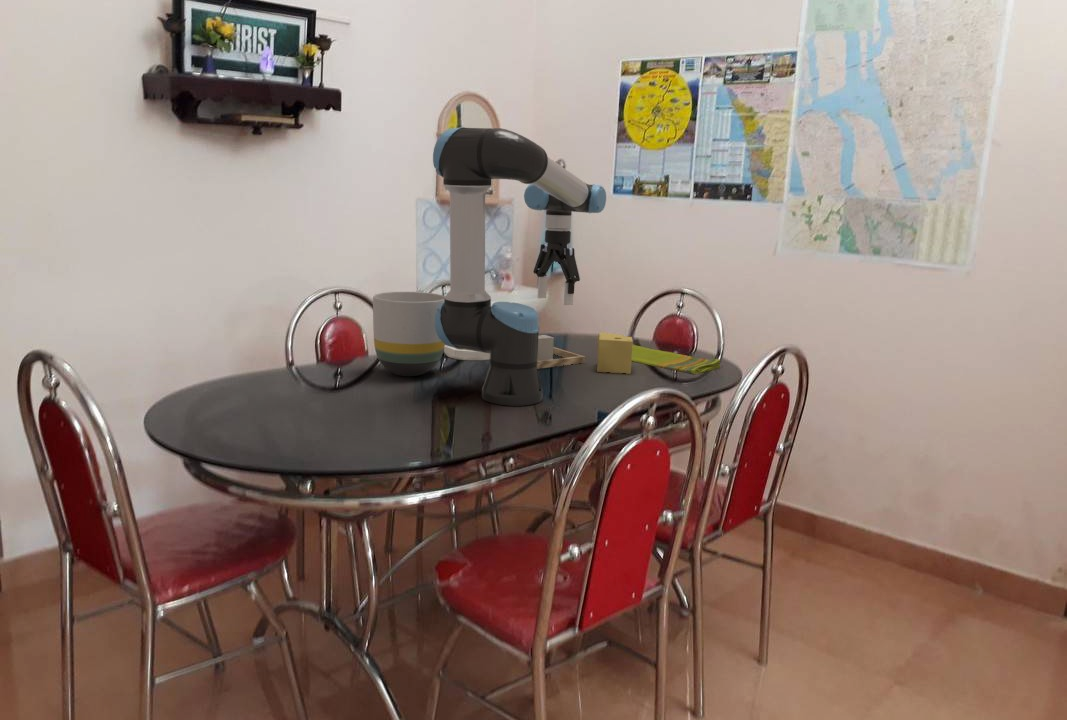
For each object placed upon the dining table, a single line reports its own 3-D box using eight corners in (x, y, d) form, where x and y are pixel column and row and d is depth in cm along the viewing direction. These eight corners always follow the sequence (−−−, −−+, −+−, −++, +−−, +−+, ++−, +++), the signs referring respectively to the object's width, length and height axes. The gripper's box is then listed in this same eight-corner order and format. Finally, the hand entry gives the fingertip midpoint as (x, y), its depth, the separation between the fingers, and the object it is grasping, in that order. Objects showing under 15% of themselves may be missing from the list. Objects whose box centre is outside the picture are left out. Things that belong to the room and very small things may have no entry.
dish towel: (695, 376, 243) (696, 365, 242) (596, 356, 265) (597, 346, 265) (721, 369, 254) (722, 359, 253) (624, 350, 277) (625, 340, 276)
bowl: (463, 362, 245) (463, 353, 245) (436, 352, 258) (436, 343, 257) (508, 357, 254) (508, 348, 254) (480, 347, 267) (480, 339, 266)
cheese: (631, 367, 249) (633, 334, 247) (631, 375, 239) (633, 340, 237) (596, 364, 250) (598, 332, 248) (595, 372, 240) (597, 338, 238)
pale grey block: (538, 361, 251) (539, 338, 249) (529, 358, 255) (530, 336, 253) (552, 360, 254) (553, 337, 253) (543, 357, 258) (544, 334, 256)
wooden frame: (536, 368, 241) (536, 362, 241) (498, 355, 257) (498, 349, 257) (584, 363, 252) (585, 356, 251) (545, 350, 267) (545, 344, 267)
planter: (423, 363, 242) (424, 290, 237) (458, 378, 226) (460, 299, 222) (360, 370, 230) (360, 293, 226) (393, 385, 215) (393, 303, 210)
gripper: (594, 233, 237) (590, 306, 242) (544, 226, 257) (541, 294, 262) (573, 233, 233) (569, 308, 238) (523, 226, 253) (521, 296, 258)
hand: (554, 301), depth 250 cm, fingers open, 13 cm apart
